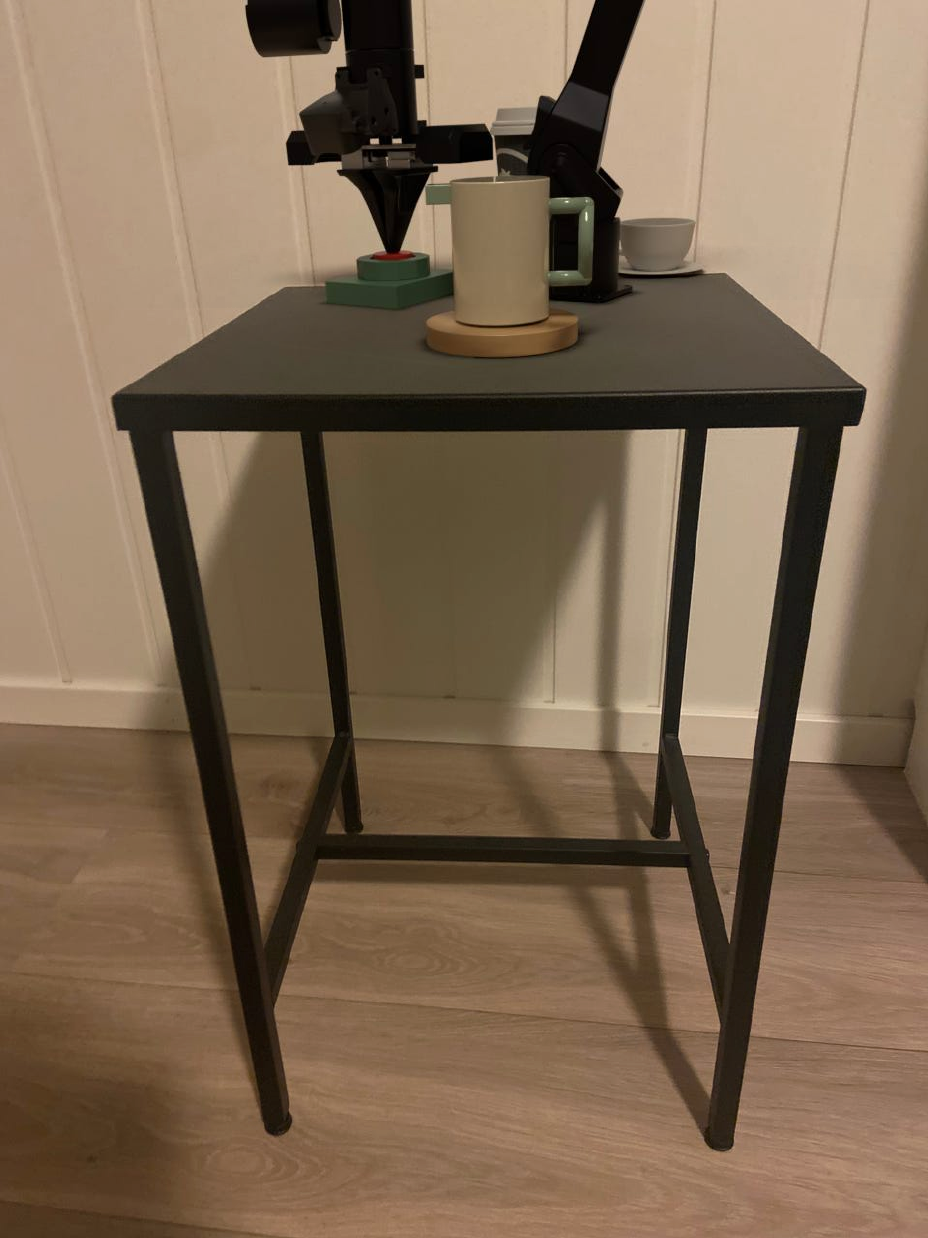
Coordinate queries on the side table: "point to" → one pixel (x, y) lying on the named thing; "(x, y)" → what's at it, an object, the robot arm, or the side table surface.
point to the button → (392, 255)
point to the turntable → (502, 336)
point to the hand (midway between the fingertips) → (393, 252)
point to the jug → (508, 246)
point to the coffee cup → (516, 147)
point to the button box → (391, 283)
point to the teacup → (656, 246)
